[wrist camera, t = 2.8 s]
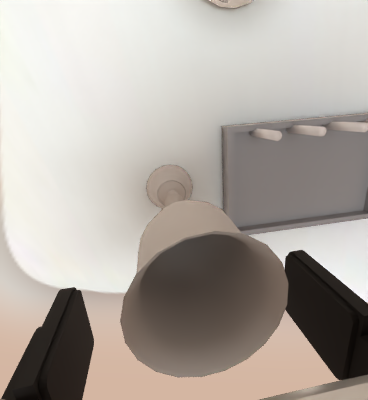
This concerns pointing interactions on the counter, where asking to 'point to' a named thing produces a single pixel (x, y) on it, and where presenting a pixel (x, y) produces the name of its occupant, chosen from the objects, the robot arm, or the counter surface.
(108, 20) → the counter surface
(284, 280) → the chalice
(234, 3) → the supplement can
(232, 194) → the drying rack
